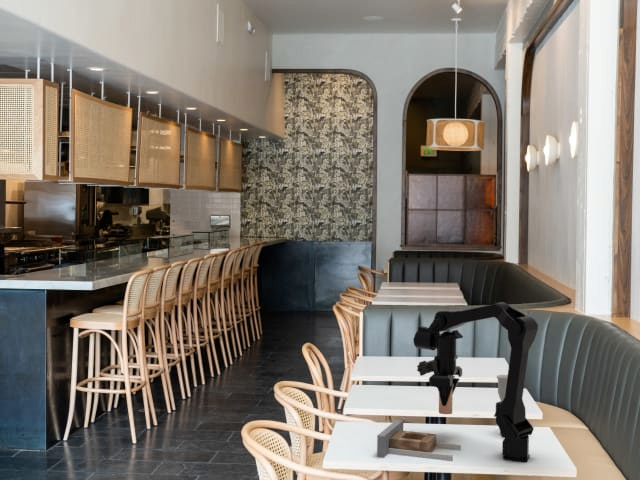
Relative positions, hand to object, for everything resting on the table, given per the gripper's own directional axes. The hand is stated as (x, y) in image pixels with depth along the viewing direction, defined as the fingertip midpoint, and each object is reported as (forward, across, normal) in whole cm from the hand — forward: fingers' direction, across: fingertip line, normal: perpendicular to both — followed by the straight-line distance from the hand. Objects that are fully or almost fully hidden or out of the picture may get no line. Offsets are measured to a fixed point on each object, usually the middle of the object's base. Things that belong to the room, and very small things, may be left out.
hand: (445, 404), depth 241 cm
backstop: (+11, +13, -4) cm, 18 cm away
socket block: (+11, +13, -6) cm, 18 cm away
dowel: (+2, 0, 0) cm, 2 cm away
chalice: (+11, -15, +16) cm, 25 cm away
